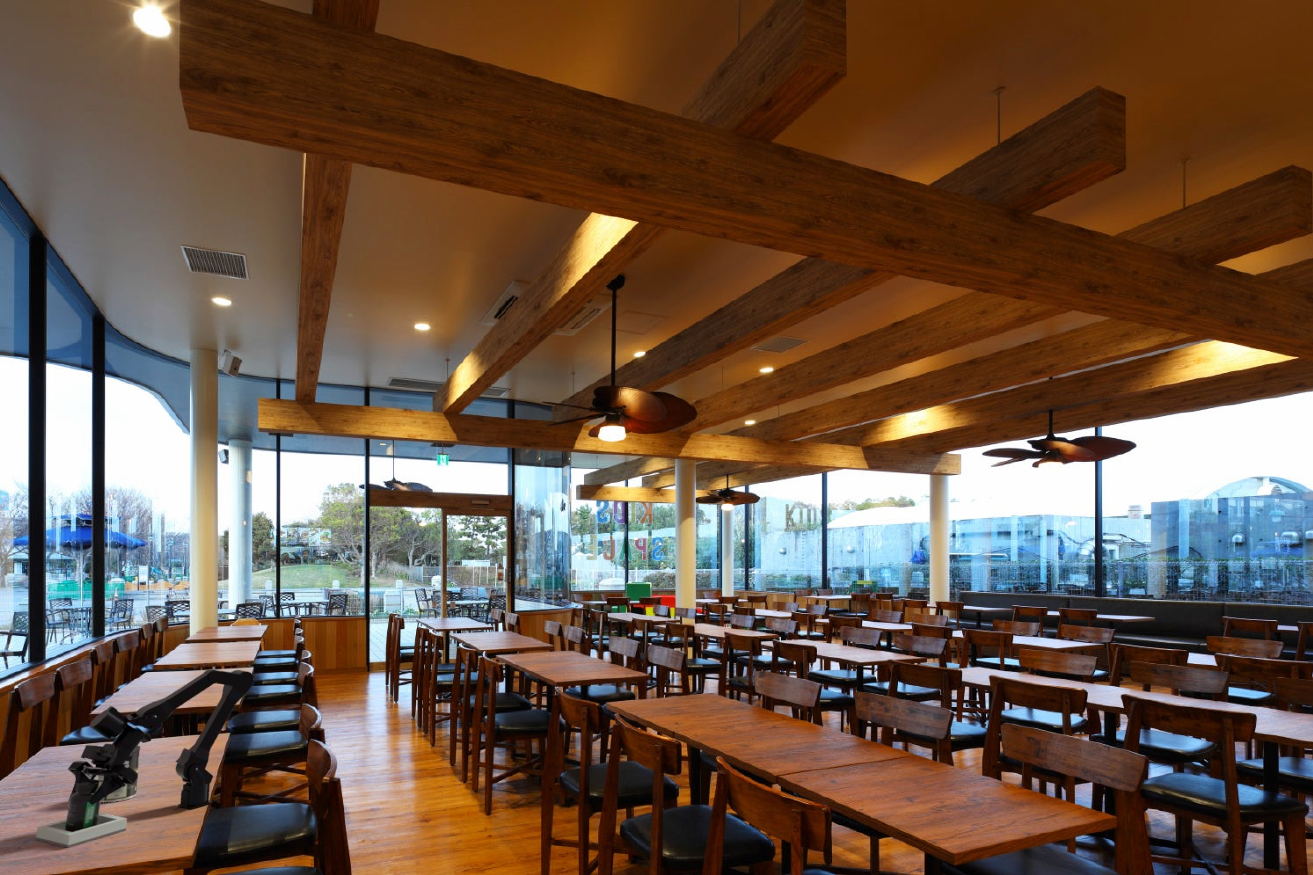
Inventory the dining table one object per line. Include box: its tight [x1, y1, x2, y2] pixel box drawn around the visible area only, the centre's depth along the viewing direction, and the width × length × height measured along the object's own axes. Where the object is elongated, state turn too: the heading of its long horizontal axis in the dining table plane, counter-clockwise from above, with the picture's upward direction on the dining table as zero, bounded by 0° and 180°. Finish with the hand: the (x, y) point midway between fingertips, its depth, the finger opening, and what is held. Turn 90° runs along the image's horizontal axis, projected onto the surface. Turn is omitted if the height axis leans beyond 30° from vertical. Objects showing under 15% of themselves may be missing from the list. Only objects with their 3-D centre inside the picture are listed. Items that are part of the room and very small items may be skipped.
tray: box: [35, 812, 128, 848], centre depth 210 cm, size 14×14×3 cm
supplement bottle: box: [65, 778, 102, 832], centre depth 210 cm, size 7×7×12 cm
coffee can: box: [97, 745, 141, 804], centre depth 243 cm, size 10×10×14 cm
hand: (80, 802), depth 209 cm, fingers closed on supplement bottle, 7 cm apart
